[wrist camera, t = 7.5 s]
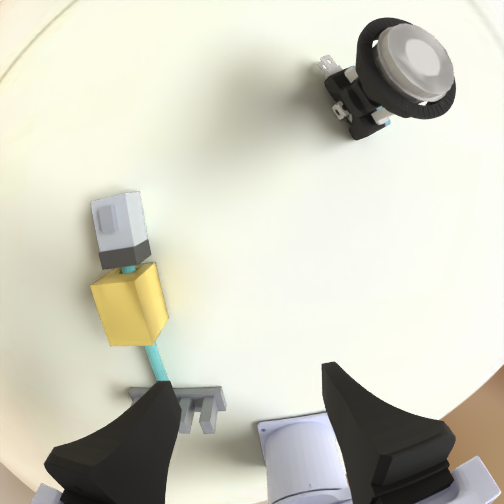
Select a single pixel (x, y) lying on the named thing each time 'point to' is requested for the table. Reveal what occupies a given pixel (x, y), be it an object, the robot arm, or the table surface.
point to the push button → (391, 77)
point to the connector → (119, 221)
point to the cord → (151, 347)
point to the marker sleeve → (131, 305)
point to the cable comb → (193, 405)
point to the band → (125, 256)
